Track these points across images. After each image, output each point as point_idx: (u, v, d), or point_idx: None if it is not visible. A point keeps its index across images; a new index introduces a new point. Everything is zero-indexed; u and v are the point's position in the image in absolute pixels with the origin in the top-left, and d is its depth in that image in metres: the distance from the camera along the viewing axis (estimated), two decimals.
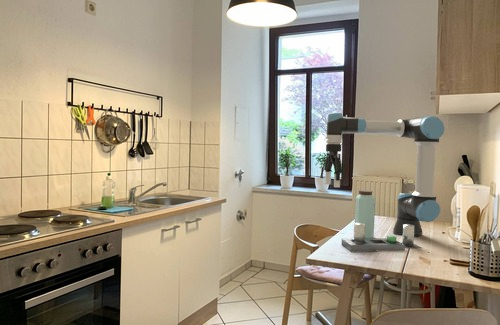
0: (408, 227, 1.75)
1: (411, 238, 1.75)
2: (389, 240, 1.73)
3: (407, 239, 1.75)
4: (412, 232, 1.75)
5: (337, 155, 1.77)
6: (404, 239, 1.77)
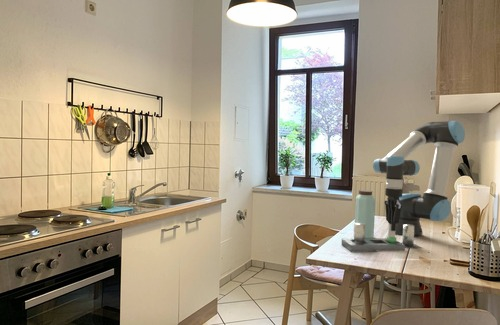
0: (408, 227, 1.75)
1: (411, 238, 1.75)
2: (389, 241, 1.73)
3: (407, 239, 1.75)
4: (412, 232, 1.75)
5: (398, 207, 1.68)
6: (404, 239, 1.77)
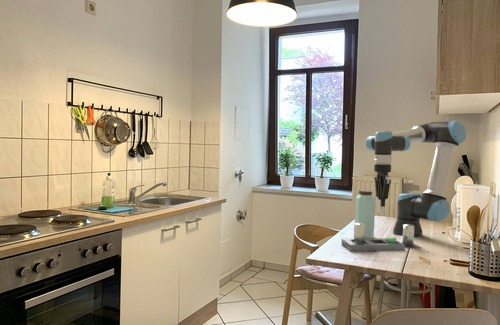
0: (408, 227, 1.75)
1: (411, 238, 1.75)
2: (389, 242, 1.73)
3: (407, 239, 1.75)
4: (412, 232, 1.75)
5: (387, 182, 1.68)
6: (404, 239, 1.77)
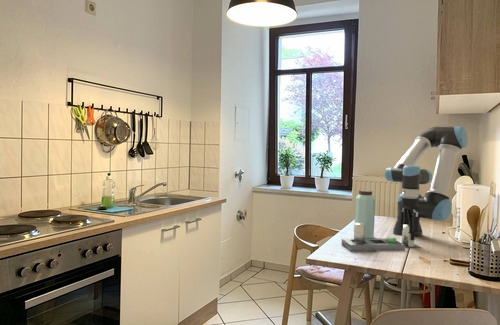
0: (408, 227, 1.75)
1: None
2: (389, 242, 1.73)
3: (407, 239, 1.75)
4: None
5: (416, 215, 1.71)
6: (404, 239, 1.77)
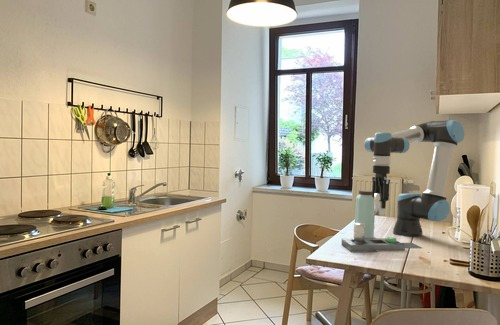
0: (379, 195, 1.71)
1: None
2: (389, 242, 1.73)
3: (378, 208, 1.71)
4: None
5: (386, 182, 1.66)
6: (375, 208, 1.72)
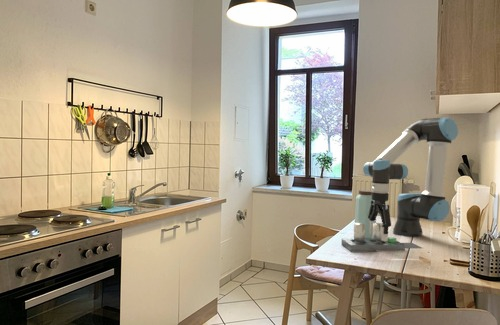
0: (377, 226, 1.72)
1: (380, 237, 1.71)
2: (389, 242, 1.73)
3: (377, 239, 1.72)
4: None
5: (385, 207, 1.66)
6: (374, 238, 1.73)
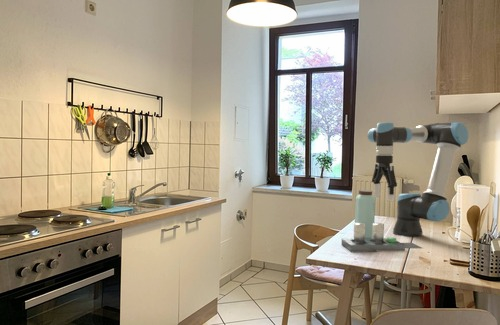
0: (377, 226, 1.71)
1: (380, 237, 1.71)
2: (389, 242, 1.73)
3: (377, 239, 1.72)
4: (381, 231, 1.72)
5: (390, 168, 1.68)
6: (374, 238, 1.73)
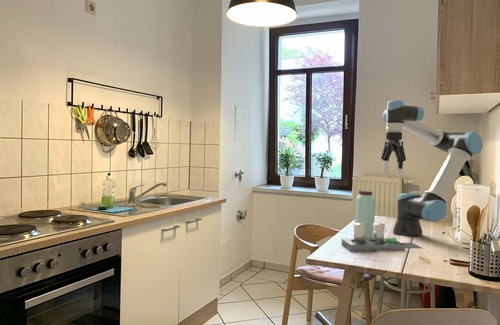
0: (378, 226, 1.72)
1: (380, 237, 1.71)
2: (389, 242, 1.73)
3: (377, 238, 1.72)
4: (382, 231, 1.72)
5: (400, 143, 1.75)
6: (374, 238, 1.73)
